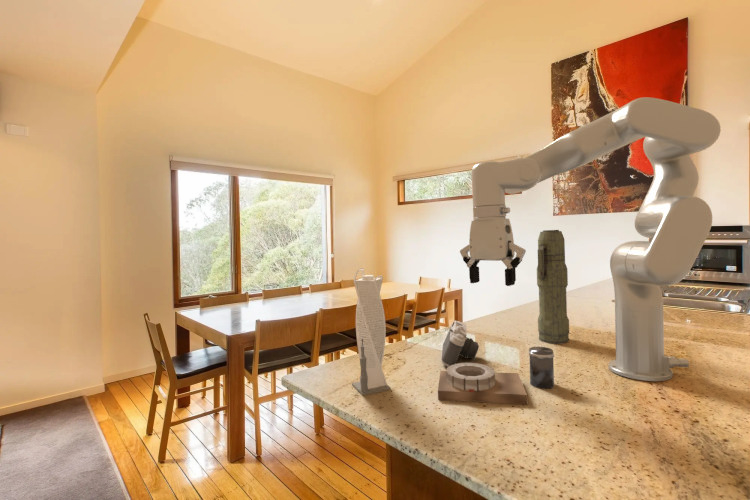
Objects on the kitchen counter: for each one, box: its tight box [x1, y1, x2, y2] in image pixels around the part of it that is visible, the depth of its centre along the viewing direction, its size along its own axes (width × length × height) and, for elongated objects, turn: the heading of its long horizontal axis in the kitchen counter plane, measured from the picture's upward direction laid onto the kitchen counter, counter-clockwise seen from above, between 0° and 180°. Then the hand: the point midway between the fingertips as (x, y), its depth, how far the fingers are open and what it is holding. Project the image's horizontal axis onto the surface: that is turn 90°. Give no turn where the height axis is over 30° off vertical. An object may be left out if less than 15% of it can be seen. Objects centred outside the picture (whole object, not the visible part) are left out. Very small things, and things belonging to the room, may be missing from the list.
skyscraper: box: [351, 267, 392, 396], centre depth 89 cm, size 8×8×28 cm
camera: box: [440, 320, 480, 367], centre depth 105 cm, size 9×16×10 cm, turn 169°
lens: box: [528, 346, 555, 390], centre depth 86 cm, size 5×5×8 cm
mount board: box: [437, 362, 528, 405], centre depth 84 cm, size 18×12×4 cm, turn 77°
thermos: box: [536, 229, 570, 345], centre depth 119 cm, size 9×12×35 cm
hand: (491, 283), depth 92 cm, fingers open, 9 cm apart
